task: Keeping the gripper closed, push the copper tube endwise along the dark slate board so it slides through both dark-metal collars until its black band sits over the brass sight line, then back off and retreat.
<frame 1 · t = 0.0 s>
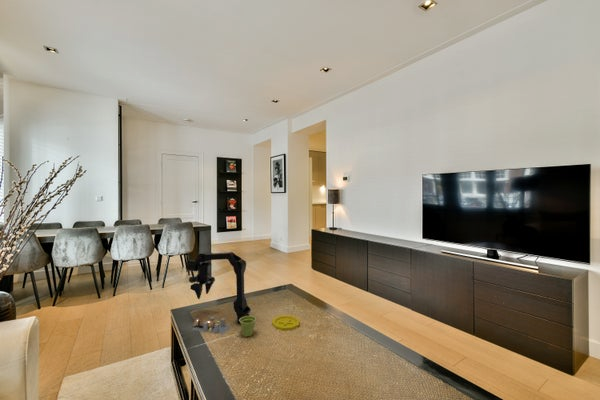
hand: (202, 296, 171), 15 cm above the table, fingers open, 9 cm apart
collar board: (212, 329, 157), on the table
plant pot: (247, 334, 153), on the table
copper tube: (204, 326, 158), point 1 cm above the table, touching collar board
decorative disc: (285, 324, 167), on the table
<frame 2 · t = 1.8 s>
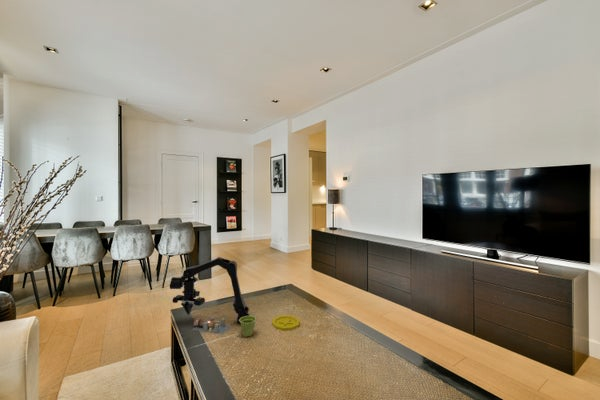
hand: (188, 314, 161), 7 cm above the table, fingers closed
nothing on the table moved.
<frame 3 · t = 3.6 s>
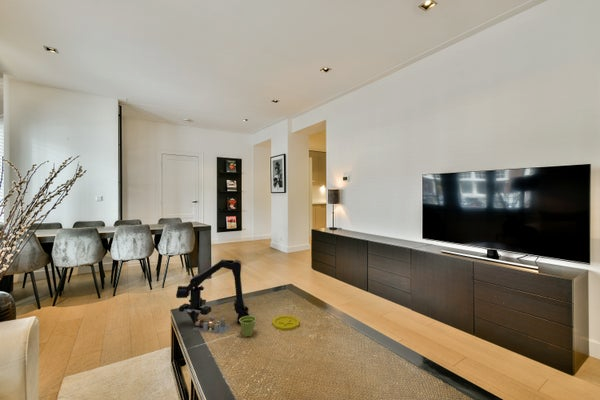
hand: (194, 323, 160), 3 cm above the table, fingers closed
copper tube: (206, 327, 158), point 1 cm above the table, touching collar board, gripper
everything else where it was.
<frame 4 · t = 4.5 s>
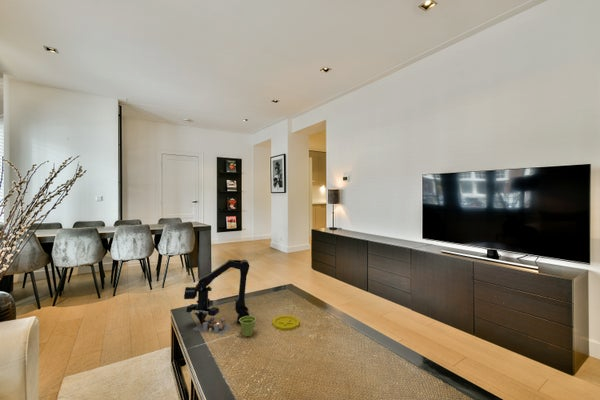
hand: (202, 324, 159), 3 cm above the table, fingers closed
copper tube: (213, 328, 157), point 1 cm above the table, touching gripper
everything else where it was.
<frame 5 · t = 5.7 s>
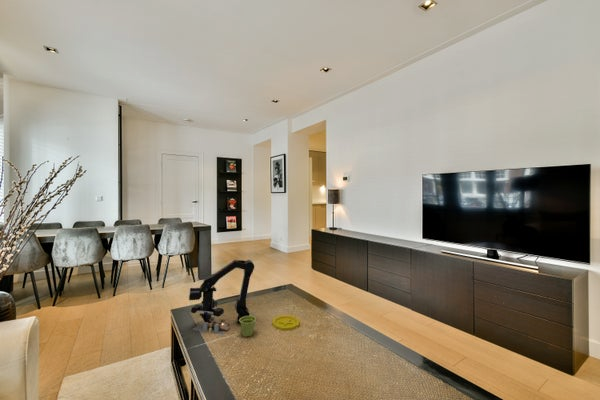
hand: (207, 324, 158), 3 cm above the table, fingers closed
copper tube: (218, 328, 156), point 1 cm above the table, touching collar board, gripper
everything else where it was.
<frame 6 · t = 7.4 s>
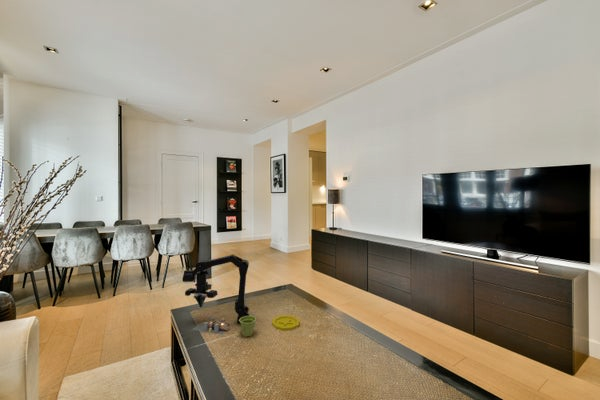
hand: (201, 307, 161), 12 cm above the table, fingers closed
copper tube: (218, 328, 156), point 1 cm above the table, touching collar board
everything else where it was.
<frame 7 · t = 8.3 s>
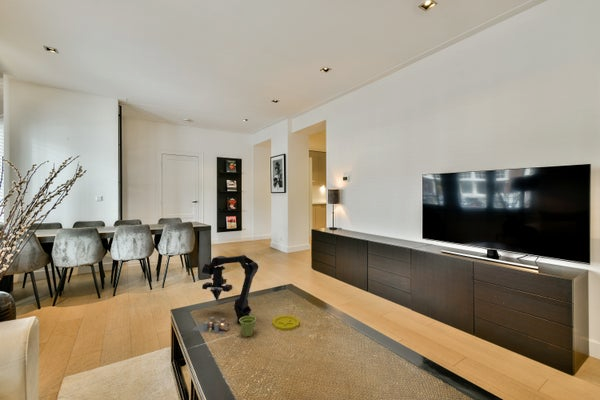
hand: (217, 300, 172), 12 cm above the table, fingers closed
nothing on the table moved.
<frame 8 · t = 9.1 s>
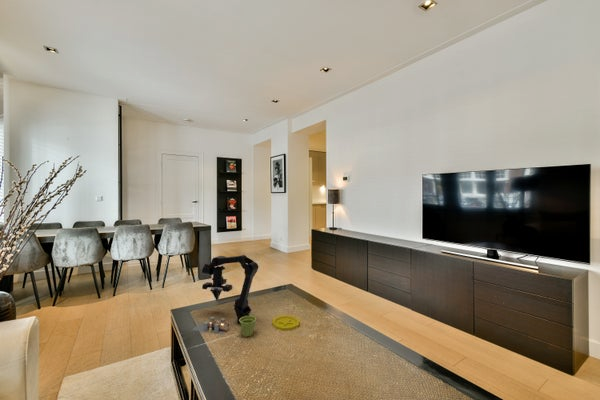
hand: (217, 300, 172), 12 cm above the table, fingers closed
copper tube: (218, 328, 156), point 1 cm above the table, tilted 10°, touching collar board
everything else where it was.
at the end: copper tube 0.3 cm from the target spot on the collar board, point 1.2 cm above the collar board's base; copper tube moved 9.3 cm from its start; copper tube touching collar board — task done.
